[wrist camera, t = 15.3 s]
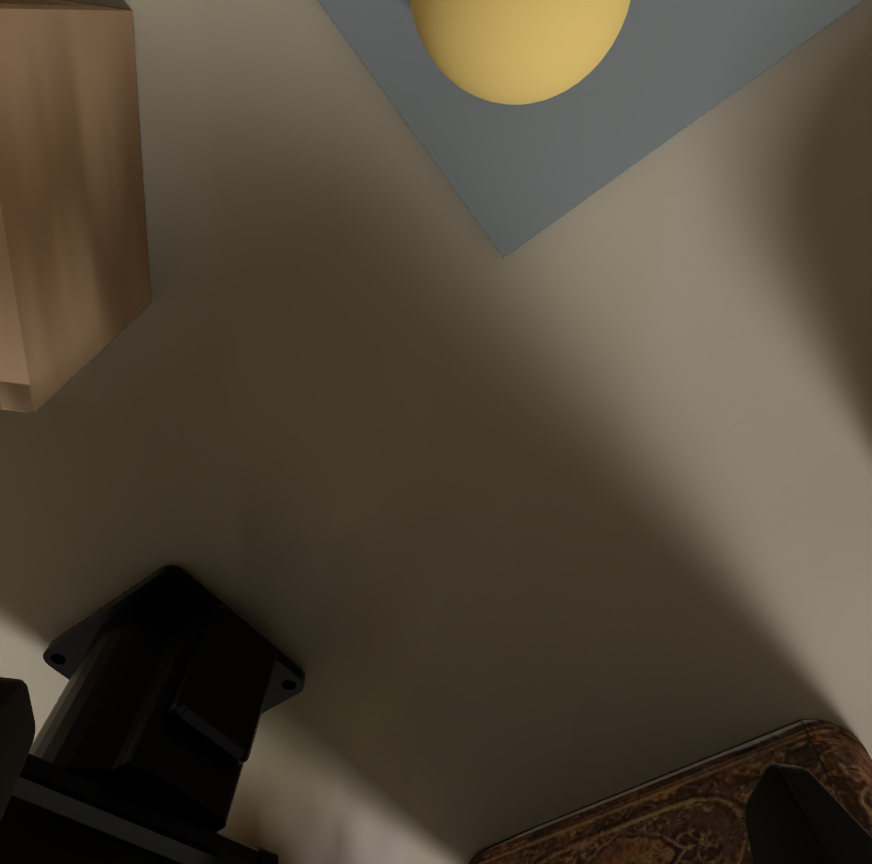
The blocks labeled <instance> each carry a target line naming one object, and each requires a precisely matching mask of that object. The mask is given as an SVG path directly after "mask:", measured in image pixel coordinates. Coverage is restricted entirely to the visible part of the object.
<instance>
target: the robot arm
mask: <svg viewBox="0 0 872 864" xmlns="http://www.w3.org/2000/svg"><path fill="white" fill-rule="evenodd" d="M168 580H172V581H174V582H175V583H171V582H169V581H168ZM43 658H44V660H45V662H46V663H47V664H48V665H49V666H51V667H52V668H54V669H55V670H56V671H58V672H59V673H61V674H62V675H63V676H65V677H66V678H68V679H69V682H68V684H67V685H66V687H65V689H64V690H63V692H62V694H61V696H60V697H59V699H58V701H57V703H56V704H55V706H54V708H53V709H52V711H51V713H50V715H49V716H48V718H47V720H46V721H45V723H44V725H43V727H42V728H41V730H40V732H39V734H38V735H37V737H36V739H35V740H34V735H35V720H34V716H33V711H32V706H31V701H30V696H29V692H28V688H27V685H26V684H25V683H24V682H23V681H22V680H20V679H12V678H3V677H0V864H278V854H276V853H274V852H271V851H269V850H267V849H264V848H262V847H260V848H259V849H258V850H257V849H255V848H253V847H250V846H248V845H245V844H243V843H241V842H238V841H236V840H234V839H231V838H229V837H226V836H224V835H222V834H219V833H217V831H219V830H221V829H223V828H224V827H225V826H226V823H227V820H228V816H229V813H230V809H231V806H232V802H233V799H234V795H235V792H236V788H237V785H238V781H239V777H240V774H241V770H242V767H243V763H244V762H245V761H247V760H248V758H249V756H250V752H251V749H252V745H253V742H254V738H255V734H256V731H257V727H258V724H259V720H260V716H261V713H263V712H265V711H267V710H269V709H271V708H272V707H274V706H276V705H278V704H280V703H282V702H283V701H285V700H287V699H289V698H291V697H293V696H294V695H296V694H298V693H299V692H301V691H302V689H303V687H304V682H305V678H306V677H305V673H304V672H303V671H302V669H300V668H299V667H298V666H297V665H296V664H295V663H293V662H292V661H291V660H290V659H289V658H287V657H286V656H285V655H284V654H283V653H282V652H280V651H279V650H278V649H277V648H276V647H274V646H273V645H272V644H271V643H270V642H269V641H267V640H266V639H265V638H264V637H263V636H261V635H260V634H259V633H258V632H257V631H256V630H254V629H253V628H252V627H251V626H250V625H248V624H247V623H246V622H245V621H244V620H243V619H241V618H240V617H239V616H238V615H237V614H235V613H234V612H233V611H232V610H231V609H230V608H228V607H227V606H226V605H225V604H224V603H222V602H221V601H220V600H219V599H218V598H217V597H215V596H214V595H213V594H212V593H211V592H209V591H208V590H207V589H206V588H205V587H204V586H202V585H201V584H200V583H199V582H198V581H196V580H195V579H194V578H193V577H192V576H191V575H189V574H188V573H187V572H186V571H185V570H183V569H182V568H180V567H178V566H174V565H166V566H164V567H162V568H160V569H159V570H157V571H156V572H154V573H153V574H151V575H150V576H148V577H147V578H145V579H144V580H142V581H141V582H139V583H138V584H136V585H135V586H133V587H132V588H130V589H129V590H128V591H126V592H125V593H123V594H122V595H120V596H119V597H117V598H116V599H114V600H113V601H111V602H110V603H108V604H107V605H105V606H104V607H102V608H101V609H99V610H98V611H96V612H95V613H93V614H92V615H91V616H89V617H88V618H86V619H85V620H83V621H82V622H80V623H79V624H77V625H76V626H74V627H73V628H71V629H70V630H68V631H67V632H65V633H64V634H62V635H61V636H59V637H58V638H56V639H55V640H54V641H52V642H51V643H50V644H49V646H48V647H47V649H46V651H45V652H44V654H43ZM290 680H292V681H290ZM33 740H34V742H33ZM32 743H33V744H32ZM745 825H746V830H747V836H748V841H749V846H750V852H751V857H752V862H753V864H872V836H871V835H870V834H869V833H868V832H867V831H866V830H865V829H864V828H863V827H862V826H861V825H860V824H859V823H858V822H857V821H856V820H855V819H854V817H853V816H852V815H851V814H850V813H849V812H848V811H847V810H846V809H845V808H844V807H843V806H842V805H841V804H840V803H839V802H838V801H837V800H836V799H835V798H834V797H833V795H832V794H831V793H830V792H829V791H828V790H827V789H826V788H825V787H824V786H823V785H822V784H821V783H820V782H819V781H818V780H817V779H816V778H815V777H814V776H813V775H812V774H811V773H810V772H809V771H808V770H806V769H805V768H803V767H800V766H795V765H786V764H777V763H773V764H770V765H769V766H767V767H766V768H765V770H764V772H763V773H762V775H761V777H760V779H759V780H758V782H757V784H756V786H755V787H754V789H753V791H752V793H751V794H750V796H749V798H748V800H747V802H746V806H745Z"/></svg>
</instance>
